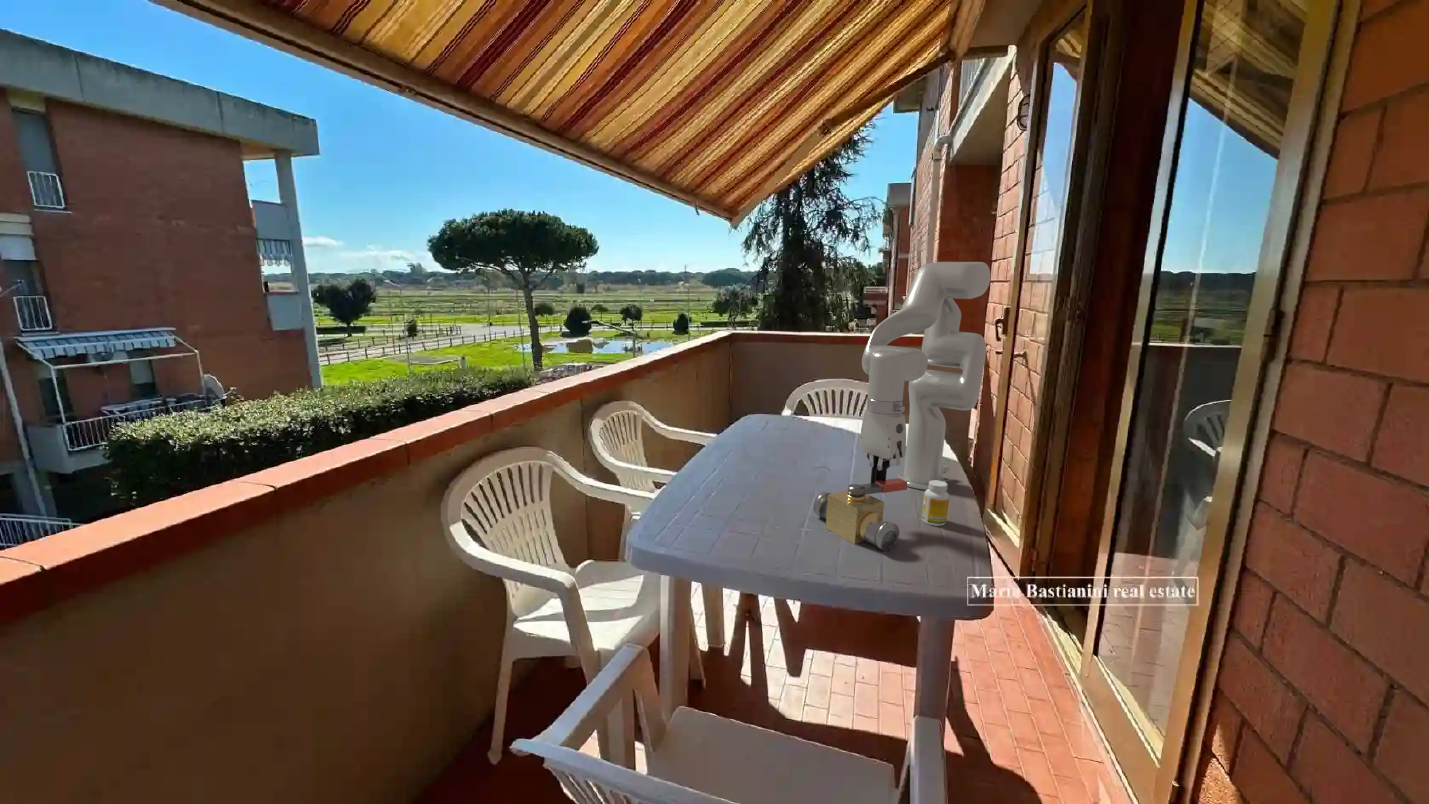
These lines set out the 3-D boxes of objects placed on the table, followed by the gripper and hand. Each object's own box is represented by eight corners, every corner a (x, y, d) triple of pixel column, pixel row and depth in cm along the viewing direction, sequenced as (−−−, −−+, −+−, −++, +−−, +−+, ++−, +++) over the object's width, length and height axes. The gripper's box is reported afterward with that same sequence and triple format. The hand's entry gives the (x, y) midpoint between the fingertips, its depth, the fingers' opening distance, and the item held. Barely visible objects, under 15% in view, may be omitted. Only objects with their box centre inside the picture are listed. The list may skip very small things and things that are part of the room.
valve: (809, 519, 132) (811, 483, 130) (835, 512, 136) (837, 477, 134) (874, 554, 115) (877, 514, 113) (901, 546, 119) (904, 507, 117)
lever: (853, 497, 121) (854, 489, 121) (844, 491, 125) (844, 484, 124) (907, 490, 126) (908, 482, 126) (897, 484, 130) (898, 477, 129)
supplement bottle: (916, 519, 133) (920, 480, 131) (933, 515, 135) (937, 477, 133) (934, 528, 128) (938, 488, 126) (951, 524, 131) (955, 485, 129)
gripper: (923, 411, 121) (915, 492, 125) (872, 398, 133) (866, 472, 138) (898, 415, 117) (891, 498, 121) (848, 401, 130) (843, 477, 134)
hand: (878, 484), depth 129 cm, fingers closed
